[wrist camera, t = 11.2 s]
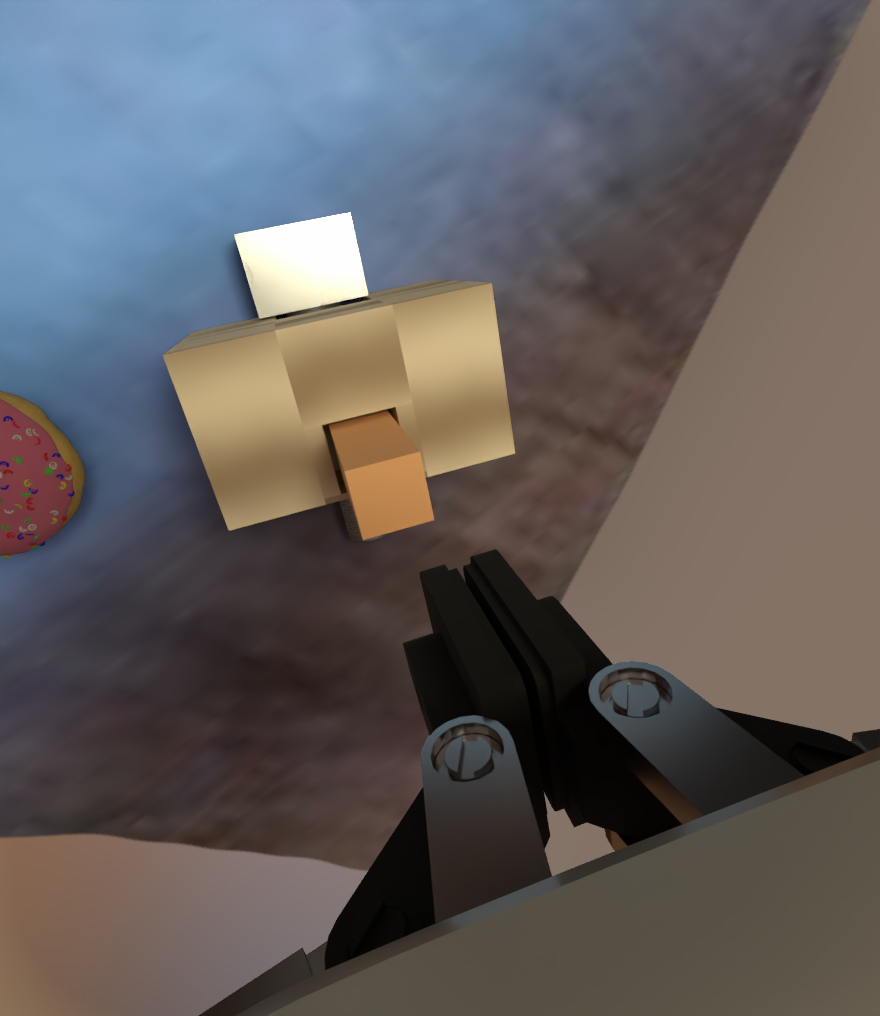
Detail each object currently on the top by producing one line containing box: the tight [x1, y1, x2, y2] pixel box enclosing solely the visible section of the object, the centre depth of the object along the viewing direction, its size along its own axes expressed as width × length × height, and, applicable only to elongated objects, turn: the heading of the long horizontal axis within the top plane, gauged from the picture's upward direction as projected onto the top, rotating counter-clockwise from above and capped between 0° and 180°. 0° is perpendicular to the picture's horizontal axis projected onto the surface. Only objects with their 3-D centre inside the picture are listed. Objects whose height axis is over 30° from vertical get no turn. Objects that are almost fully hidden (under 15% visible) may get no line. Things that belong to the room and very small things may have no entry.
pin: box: [234, 213, 388, 541], centre depth 34 cm, size 18×6×3 cm, turn 11°
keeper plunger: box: [329, 410, 434, 540], centre depth 25 cm, size 3×3×7 cm
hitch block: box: [163, 279, 515, 531], centre depth 31 cm, size 8×14×10 cm, turn 101°
